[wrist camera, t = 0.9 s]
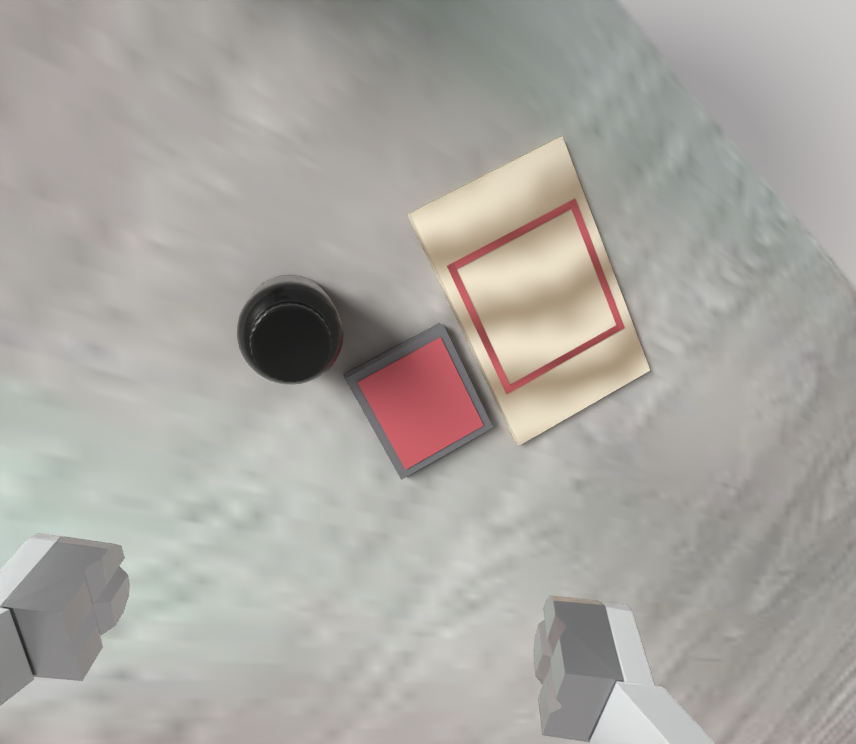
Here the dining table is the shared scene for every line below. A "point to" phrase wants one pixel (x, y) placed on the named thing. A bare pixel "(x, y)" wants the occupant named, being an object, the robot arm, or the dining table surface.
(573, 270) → the marked board
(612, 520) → the dining table surface
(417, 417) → the ink pad
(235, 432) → the dining table surface
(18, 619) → the robot arm
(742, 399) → the dining table surface
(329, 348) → the supplement bottle
